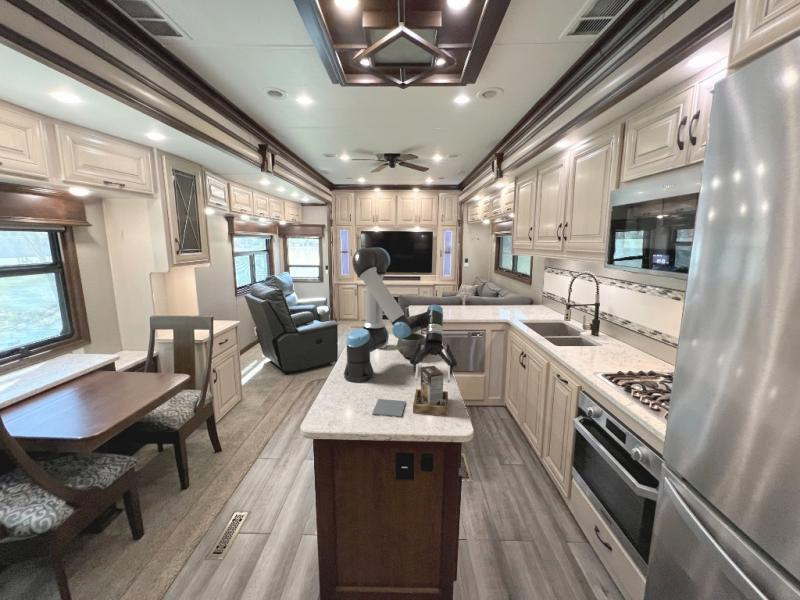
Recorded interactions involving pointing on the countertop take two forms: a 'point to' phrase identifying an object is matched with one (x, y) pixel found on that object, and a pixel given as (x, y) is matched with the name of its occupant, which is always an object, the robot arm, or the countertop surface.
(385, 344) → the lidded jar
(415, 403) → the walnut frame
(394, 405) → the slate mat
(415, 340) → the bowl
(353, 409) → the countertop surface
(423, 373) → the coffee box
